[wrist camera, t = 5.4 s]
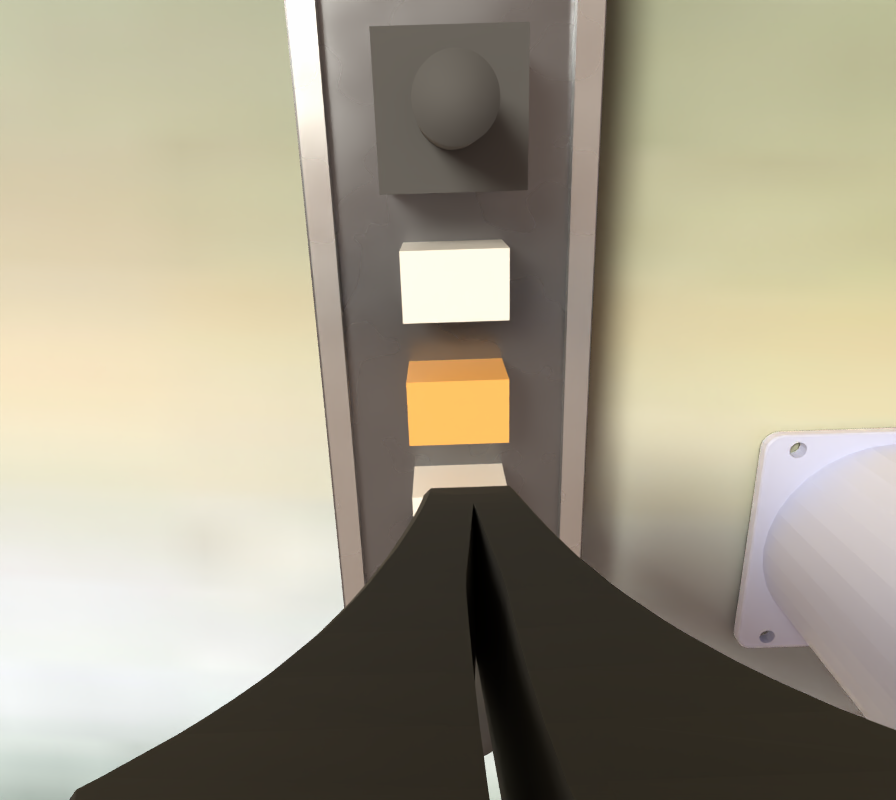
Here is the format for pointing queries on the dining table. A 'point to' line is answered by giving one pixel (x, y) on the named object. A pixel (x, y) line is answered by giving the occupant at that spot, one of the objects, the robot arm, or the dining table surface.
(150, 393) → the dining table surface
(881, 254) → the dining table surface
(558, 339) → the strip
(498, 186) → the cord plug
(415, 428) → the block
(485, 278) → the block
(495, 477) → the breaker paddle
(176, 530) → the dining table surface
